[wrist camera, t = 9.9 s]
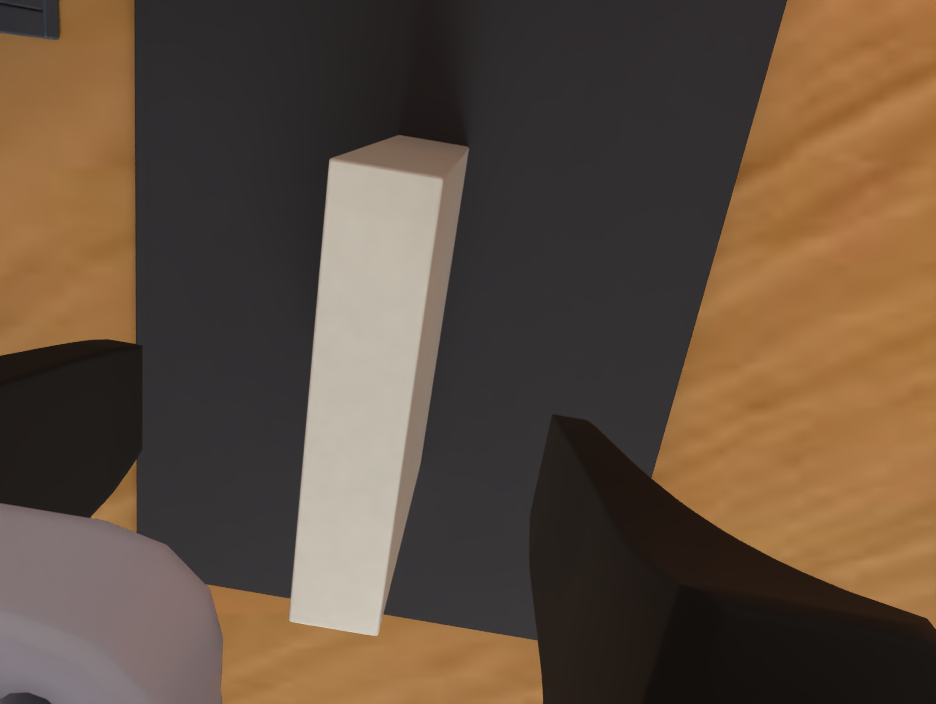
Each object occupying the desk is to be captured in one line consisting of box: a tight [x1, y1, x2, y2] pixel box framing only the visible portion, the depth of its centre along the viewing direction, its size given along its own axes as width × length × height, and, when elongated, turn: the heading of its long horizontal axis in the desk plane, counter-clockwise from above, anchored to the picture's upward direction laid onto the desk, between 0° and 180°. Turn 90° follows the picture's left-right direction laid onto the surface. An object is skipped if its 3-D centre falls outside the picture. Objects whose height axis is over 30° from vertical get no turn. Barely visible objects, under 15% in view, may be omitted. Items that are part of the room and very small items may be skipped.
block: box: [289, 135, 469, 636], centre depth 16 cm, size 9×2×7 cm, turn 171°
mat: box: [135, 0, 787, 640], centre depth 19 cm, size 20×15×1 cm
